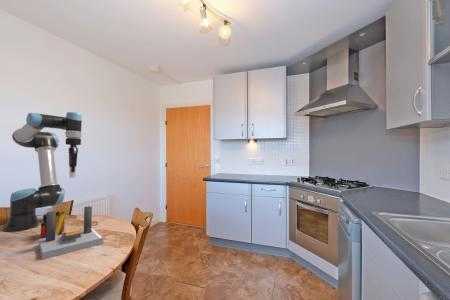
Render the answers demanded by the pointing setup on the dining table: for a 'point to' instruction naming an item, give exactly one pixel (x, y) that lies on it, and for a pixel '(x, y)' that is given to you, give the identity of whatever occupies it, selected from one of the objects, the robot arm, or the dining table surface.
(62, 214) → the mug
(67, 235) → the paddle
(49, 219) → the cylinder
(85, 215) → the post
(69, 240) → the panel
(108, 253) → the dining table surface
